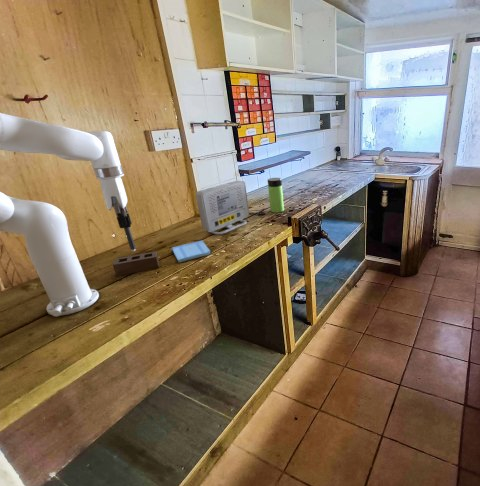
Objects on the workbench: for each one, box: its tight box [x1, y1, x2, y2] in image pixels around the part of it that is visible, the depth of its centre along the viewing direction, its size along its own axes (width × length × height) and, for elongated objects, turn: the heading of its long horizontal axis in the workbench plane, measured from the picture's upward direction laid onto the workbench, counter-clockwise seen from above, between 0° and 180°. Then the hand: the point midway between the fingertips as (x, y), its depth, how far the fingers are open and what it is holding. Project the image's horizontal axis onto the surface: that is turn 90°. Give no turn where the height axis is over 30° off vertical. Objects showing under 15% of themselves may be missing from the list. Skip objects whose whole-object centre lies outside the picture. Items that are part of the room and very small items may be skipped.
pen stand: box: [112, 250, 160, 277], centre depth 112 cm, size 5×13×4 cm, turn 114°
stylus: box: [122, 210, 136, 252], centre depth 107 cm, size 2×2×15 cm
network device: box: [195, 179, 250, 235], centre depth 146 cm, size 26×9×20 cm, turn 148°
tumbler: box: [267, 177, 285, 214], centre depth 167 cm, size 8×8×17 cm
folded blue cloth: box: [171, 240, 211, 263], centre depth 124 cm, size 14×12×1 cm
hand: (126, 226), depth 107 cm, fingers closed on stylus, 1 cm apart
